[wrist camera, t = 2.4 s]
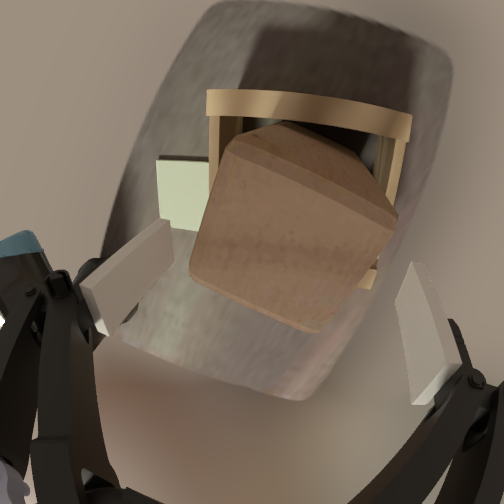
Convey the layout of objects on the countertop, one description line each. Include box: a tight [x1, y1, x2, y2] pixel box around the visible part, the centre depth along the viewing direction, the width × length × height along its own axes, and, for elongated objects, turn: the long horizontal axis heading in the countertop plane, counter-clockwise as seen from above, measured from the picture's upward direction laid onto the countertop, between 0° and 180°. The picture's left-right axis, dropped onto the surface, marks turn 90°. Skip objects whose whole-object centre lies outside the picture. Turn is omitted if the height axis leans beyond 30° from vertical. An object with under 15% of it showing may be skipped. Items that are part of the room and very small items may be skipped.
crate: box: [206, 89, 412, 290], centre depth 28 cm, size 18×18×9 cm
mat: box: [156, 160, 209, 231], centre depth 37 cm, size 10×10×1 cm
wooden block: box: [189, 121, 398, 333], centre depth 23 cm, size 10×10×20 cm
